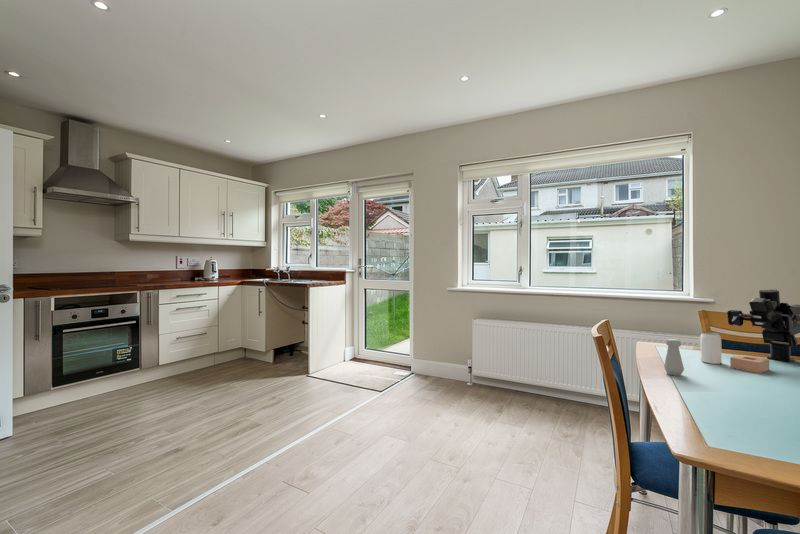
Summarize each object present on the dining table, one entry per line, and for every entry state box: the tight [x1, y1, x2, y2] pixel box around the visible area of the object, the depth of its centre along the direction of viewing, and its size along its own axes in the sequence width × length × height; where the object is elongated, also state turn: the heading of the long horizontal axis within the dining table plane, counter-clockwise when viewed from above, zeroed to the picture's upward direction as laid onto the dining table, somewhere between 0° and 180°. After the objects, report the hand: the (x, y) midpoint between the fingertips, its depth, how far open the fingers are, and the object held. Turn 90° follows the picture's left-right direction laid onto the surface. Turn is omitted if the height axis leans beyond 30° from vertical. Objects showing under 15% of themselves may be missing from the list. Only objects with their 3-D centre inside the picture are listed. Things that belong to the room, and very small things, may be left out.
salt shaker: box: [663, 338, 685, 377], centre depth 131 cm, size 6×6×13 cm
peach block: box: [729, 354, 771, 374], centre depth 136 cm, size 8×8×4 cm
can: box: [700, 331, 722, 365], centre depth 146 cm, size 6×6×12 cm
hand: (746, 324), depth 139 cm, fingers open, 9 cm apart
